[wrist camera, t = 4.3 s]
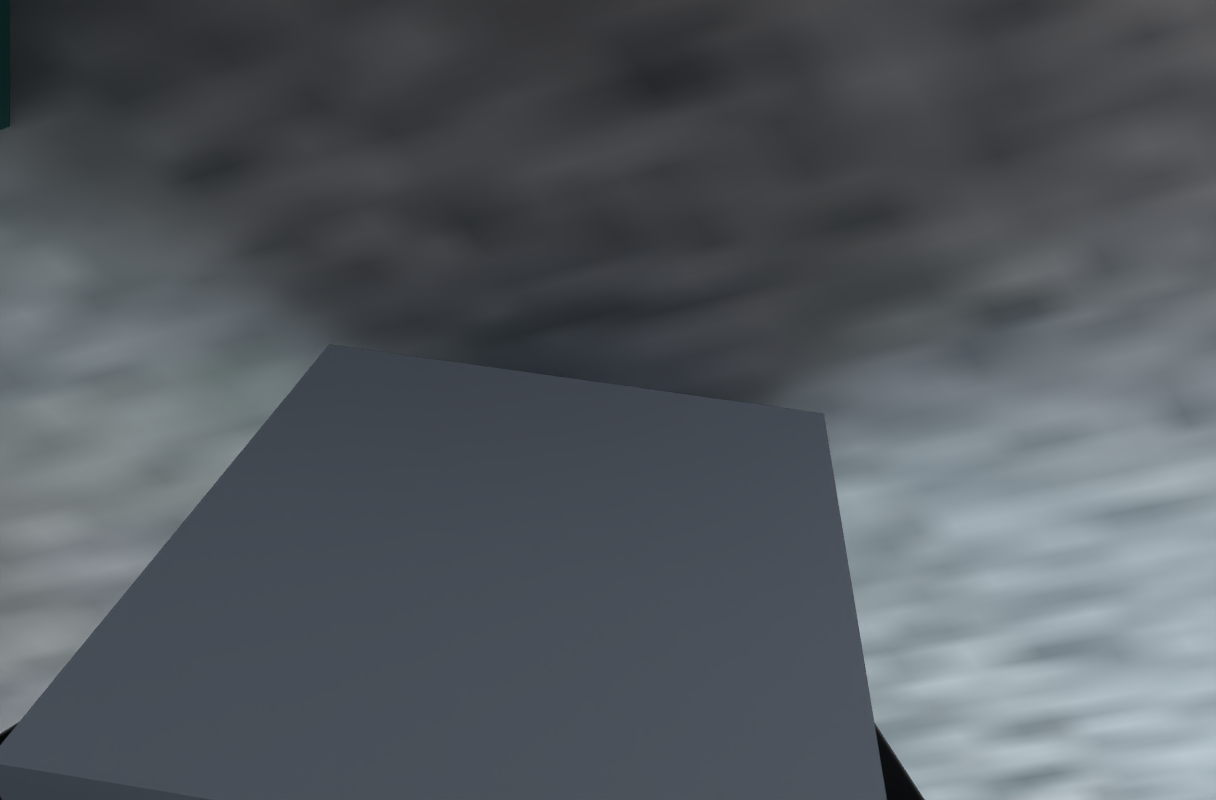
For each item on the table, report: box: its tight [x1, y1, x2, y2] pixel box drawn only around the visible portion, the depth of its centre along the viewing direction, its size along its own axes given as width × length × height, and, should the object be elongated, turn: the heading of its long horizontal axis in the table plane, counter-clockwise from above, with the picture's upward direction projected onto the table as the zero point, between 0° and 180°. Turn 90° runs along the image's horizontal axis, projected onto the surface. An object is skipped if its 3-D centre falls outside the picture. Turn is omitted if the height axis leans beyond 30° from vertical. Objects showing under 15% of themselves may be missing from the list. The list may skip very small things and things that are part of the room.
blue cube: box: [0, 345, 887, 800], centre depth 8 cm, size 5×5×5 cm
